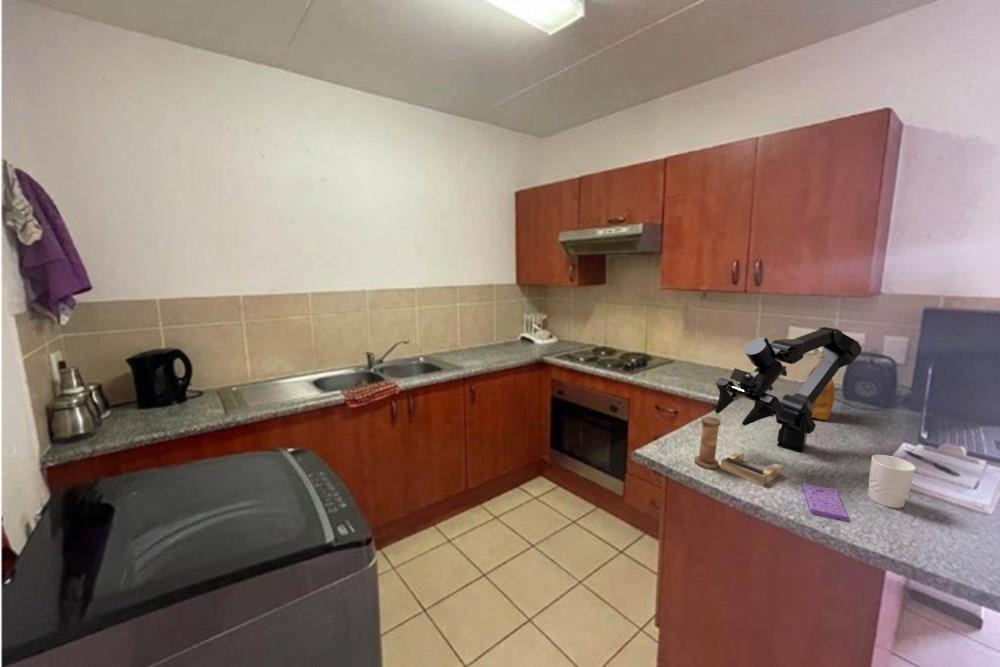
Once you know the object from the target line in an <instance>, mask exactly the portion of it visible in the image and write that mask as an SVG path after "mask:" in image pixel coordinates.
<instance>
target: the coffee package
mask: <svg viewBox="0 0 1000 667" xmlns="http://www.w3.org/2000/svg"><path fill="white" fill-rule="evenodd" d="M818 359H819V361H818V362H817V363H816V365H815V366H814V367H813V368H812V370H811V371H810V372H809V374H808V376H807V378H806V380H807V379H808V377H809V376H810V375H811V373H812V372H813V371H814V369H815V368H816V367H817V365H818V364H819V363H820V362H821V360H822V359H823V354H822V355H821V356H820V357H818ZM834 401H835V383H834V380H833V378H832V379H831V380H830V382H829V383H828V384H827V386H826V387H825V388H824V389H823V391H822V392H821V393H820V395H819V396H818V397H817V399H816V400H815V401H814V403H813V404H812V410H813V414H812V416H811V419H818V420H826V421H827V420H829V418H830V416H831V413H832V410H833V406H834Z"/></svg>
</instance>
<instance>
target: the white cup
mask: <svg viewBox="0 0 1000 667" xmlns="http://www.w3.org/2000/svg"><path fill="white" fill-rule="evenodd" d="M916 469H917V468H916V466H915V464H913V463H912V462H910V461H907V460H904V459H903V458H900V457H896V456H891V455H887V454H873V455H872V456H871V461H870V468H869V475H868V476H869V477H868V490H867V497H868V498H869V499H870V500H871V501H873V502H875V503H876V504H879V505H881V506H883V507H889V508H895V509H900V508H904V506H905V502H906V499H907V498H908V495H909V492H910V491H911V490H910V489H911V486H912V482H913V478H914V475H915V472H916Z"/></svg>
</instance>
